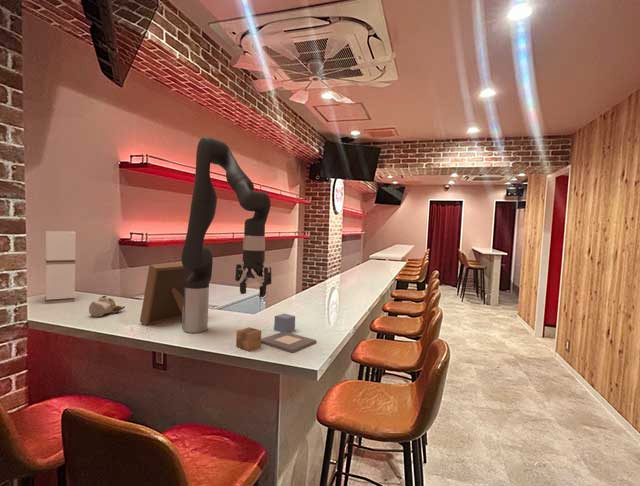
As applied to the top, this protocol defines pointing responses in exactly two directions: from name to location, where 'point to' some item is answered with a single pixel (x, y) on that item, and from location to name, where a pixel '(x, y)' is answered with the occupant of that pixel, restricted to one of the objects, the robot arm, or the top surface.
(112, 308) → the ceramic sculpture
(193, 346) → the top surface
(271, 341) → the base plate
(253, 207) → the robot arm
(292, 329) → the slate block
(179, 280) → the photo frame
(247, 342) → the walnut block
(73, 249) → the white stacked pillar
